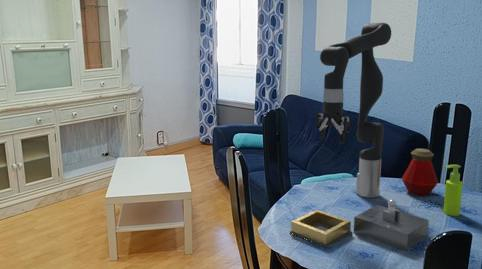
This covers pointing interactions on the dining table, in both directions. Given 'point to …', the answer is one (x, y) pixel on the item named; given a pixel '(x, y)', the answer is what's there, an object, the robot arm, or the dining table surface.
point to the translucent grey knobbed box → (391, 226)
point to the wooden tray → (320, 236)
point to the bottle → (420, 173)
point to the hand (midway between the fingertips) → (331, 141)
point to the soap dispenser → (453, 192)
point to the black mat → (323, 228)
